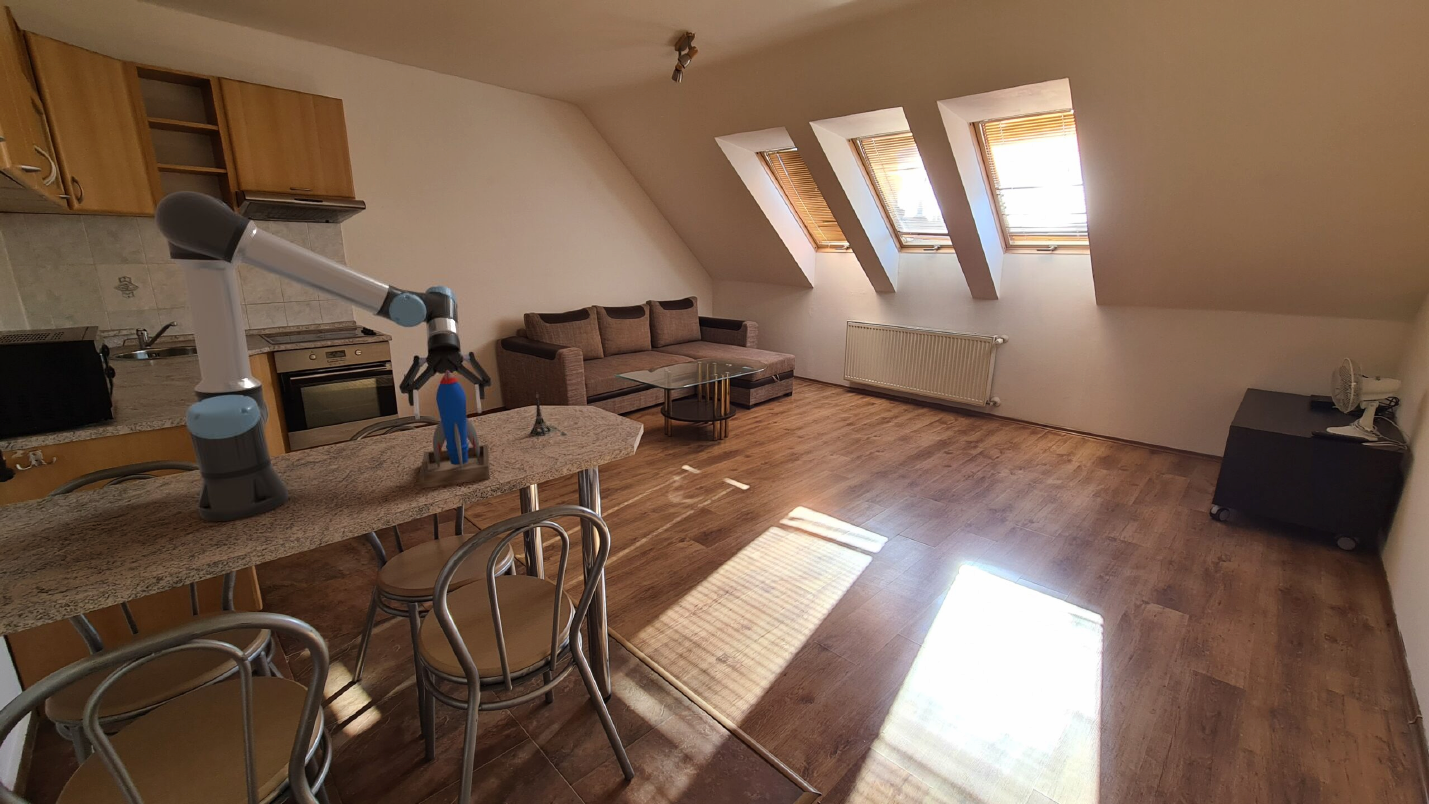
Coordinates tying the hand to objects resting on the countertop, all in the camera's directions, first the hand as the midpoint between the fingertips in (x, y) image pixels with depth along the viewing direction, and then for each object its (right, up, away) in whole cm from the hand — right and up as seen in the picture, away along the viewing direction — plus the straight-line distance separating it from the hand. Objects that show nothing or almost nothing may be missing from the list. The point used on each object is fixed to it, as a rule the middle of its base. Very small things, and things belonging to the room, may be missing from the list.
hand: (448, 413), depth 138 cm
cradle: (-1, -14, +6) cm, 16 cm away
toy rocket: (-1, -14, +6) cm, 15 cm away
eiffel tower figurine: (+12, -7, +35) cm, 38 cm away
